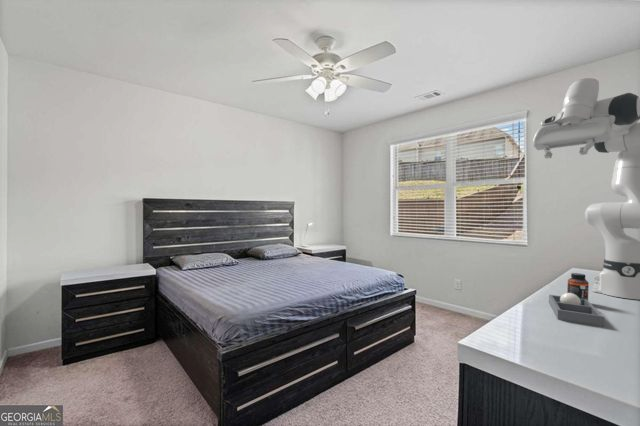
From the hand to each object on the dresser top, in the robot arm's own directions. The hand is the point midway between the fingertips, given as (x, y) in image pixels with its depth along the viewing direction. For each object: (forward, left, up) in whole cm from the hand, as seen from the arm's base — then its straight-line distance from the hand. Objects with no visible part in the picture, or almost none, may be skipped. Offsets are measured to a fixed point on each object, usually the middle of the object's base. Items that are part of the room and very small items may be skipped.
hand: (564, 155), depth 97 cm
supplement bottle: (-21, +8, -53) cm, 57 cm away
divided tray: (-4, +4, -53) cm, 53 cm away
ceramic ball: (-9, +4, -52) cm, 53 cm away
